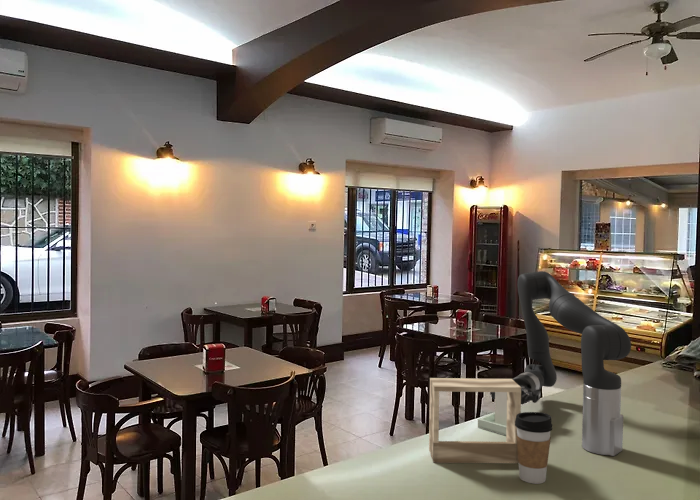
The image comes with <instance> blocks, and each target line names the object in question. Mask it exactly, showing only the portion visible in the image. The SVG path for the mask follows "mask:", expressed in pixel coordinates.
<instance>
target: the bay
mask: <svg viewBox="0 0 700 500" xmlns="http://www.w3.org/2000/svg"><path fill="white" fill-rule="evenodd" d="M440 392H442V393H443V392H446V393H447V392H453V393H455V392H457V393H459V392H462V393H463V392H465V393H466V392H467V393H469V392H470V393H490V392H507V425H506V436H505V437H506V438H505V441H477V440H476V441H474V440H473V441H471V440H469V441H465V440H463V441H462V440H460V441H459V440H458V441H456V440H455V441H453V440H448V441H447V440H443V441H442V440H439V435H440V434H439V430H440V429H439V427H440V424H439V423H440ZM521 406H522V404H521V387H520V386H519V385H518V384H517V383H516V382H515V381H514V380H513V378H480V377H479V378H477V377H476V378H474V377H473V378H472V377H471V378H469V377H467V378H464V377H463V378H461V377H460V378H458V377H457V378H456V377H454V378H453V377H450V378H449V377H429V418H428V420H429V422H428V423H429V426H428V430H429V431H428V437H429V438H428V451H429V455H430V457H431V459H432V462H433V463H434V464H435V463H442V464H446V463H447V464H450V463H452V464H453V463H454V464H455V463H457V464H460V463H461V464H519V462H518V451H517V438H516V433H517V427H516V426H515V420H516V415H517V414H519V413H522V411H521V410H522V407H521Z"/></svg>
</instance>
